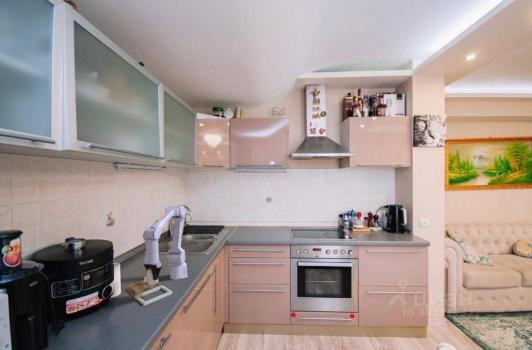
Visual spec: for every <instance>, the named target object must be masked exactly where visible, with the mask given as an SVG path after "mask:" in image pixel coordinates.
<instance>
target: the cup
mask: <svg viewBox="0 0 532 350" xmlns="http://www.w3.org/2000/svg"><path fill="white" fill-rule="evenodd" d="M112 263H113V264H114V293H113V295H112V296H111V298H110V299H112V298H116V297H118V296H119V295H120V294H121V293H122V288H121V287H122V284H121V263H119V262H112Z"/></svg>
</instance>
